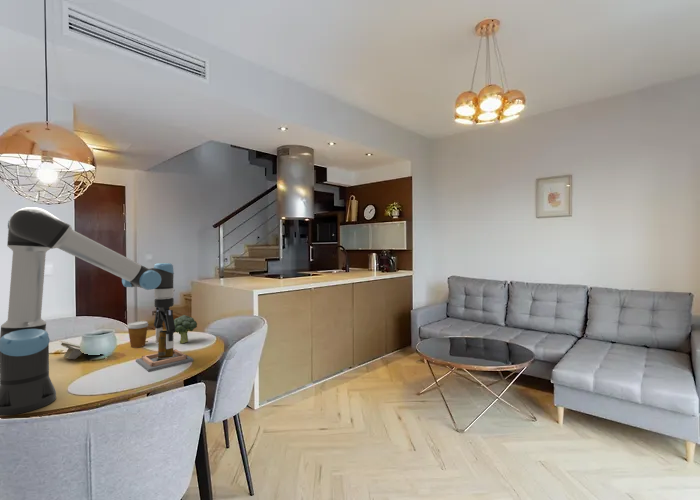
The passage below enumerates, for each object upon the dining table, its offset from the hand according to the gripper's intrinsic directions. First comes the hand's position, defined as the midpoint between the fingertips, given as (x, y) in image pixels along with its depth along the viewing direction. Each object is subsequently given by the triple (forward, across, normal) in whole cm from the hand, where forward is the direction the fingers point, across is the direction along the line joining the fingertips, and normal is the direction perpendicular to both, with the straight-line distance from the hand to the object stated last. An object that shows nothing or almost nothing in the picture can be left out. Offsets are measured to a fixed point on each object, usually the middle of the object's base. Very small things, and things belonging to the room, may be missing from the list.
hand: (164, 345), depth 154 cm
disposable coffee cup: (+7, +36, +1) cm, 37 cm away
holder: (+7, 0, 0) cm, 7 cm away
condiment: (+6, -1, 0) cm, 6 cm away
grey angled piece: (+8, +36, +25) cm, 44 cm away
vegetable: (+7, +25, -18) cm, 32 cm away
